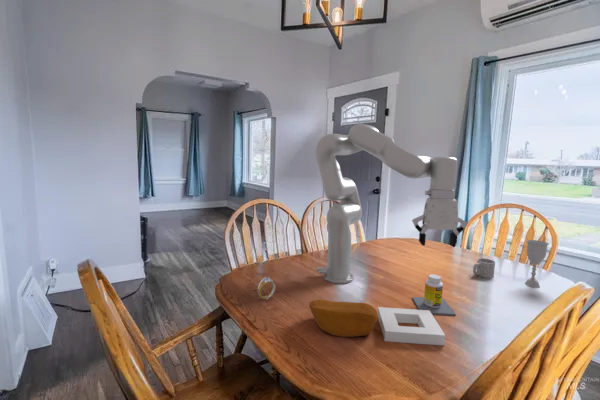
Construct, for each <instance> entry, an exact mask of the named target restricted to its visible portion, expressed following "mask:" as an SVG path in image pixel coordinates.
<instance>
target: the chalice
mask: <svg viewBox="0 0 600 400" xmlns="http://www.w3.org/2000/svg"><path fill="white" fill-rule="evenodd" d="M526 243H527V249H526V256H527V259H528V260H529V262H530V263H531V265H532V268H531V270H532V271H531V272H530V274H531V277H528V278H527V279H526V281H525V282H524V284H525V285H526V286H527V287H532V288H541V285H540V283H539V281H538V279H536V275H537V273H536V271H537V270H538V269H537V265H538V266H539V265H540V264H541V263H542V262H543V261H544V260H545V258H546V256H547V250H548V248H547V247H548V246H549V245H550V243H548V242H546V241H542V240H536V239H528V240H526Z"/></svg>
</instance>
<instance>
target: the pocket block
mask: <svg viewBox="0 0 600 400" xmlns="http://www.w3.org/2000/svg"><path fill="white" fill-rule="evenodd" d="M377 313H378V318H377V320H378V322H379V325H380V329H381V332H382V336H383V340H384V342H389V343H390V342H391V343H393V342H394V343H403V344H404V343H405V344H418V345H430V346H431V345H432V346H445V343H446V334H445V332H444V331H443V329H442V328H441V326H440V324H439V323H438V322H437V320H436V318H435V317H434V314H431V312H430V310H419V309H416V308H415V309H414V308H413V309H412V308H411V309H410V308H399V307H395V308H394V307H383V306H382V307H381V306H378V307H377ZM399 323H402V324H416V325H418V326H403V325H399Z"/></svg>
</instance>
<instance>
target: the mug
mask: <svg viewBox="0 0 600 400" xmlns="http://www.w3.org/2000/svg"><path fill="white" fill-rule="evenodd" d="M495 266H496V261H495V260H493V259H490V258H484V257H480V258H477V262H476V263H475V264H473V268H472V273H473V274H474V275H477V277H481V278H484V279H486V278H487V279H492V278H494V275H495Z"/></svg>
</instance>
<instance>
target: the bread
mask: <svg viewBox="0 0 600 400" xmlns="http://www.w3.org/2000/svg"><path fill="white" fill-rule="evenodd" d="M309 309H310V311H311V314H312V316H313V318H314V321H315V323H316V324H317V326H318V327H319V329H321V330H322V331H324V332H326V333H327V334H330V335H332V336H337V337H345V338H346V337H347V338H351V337H353V338H354V337H355V338H356V337H363V336H364V337H366V336H369V334H370V333H372V332H373V330H374V328H375V325H376V322H377V320H378V310H377V309H376V308H374V306H373V305H371V304H369V303H365V302H351V301H349V302H348V301H331V300H327V299H314V300H312V301H309Z"/></svg>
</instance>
